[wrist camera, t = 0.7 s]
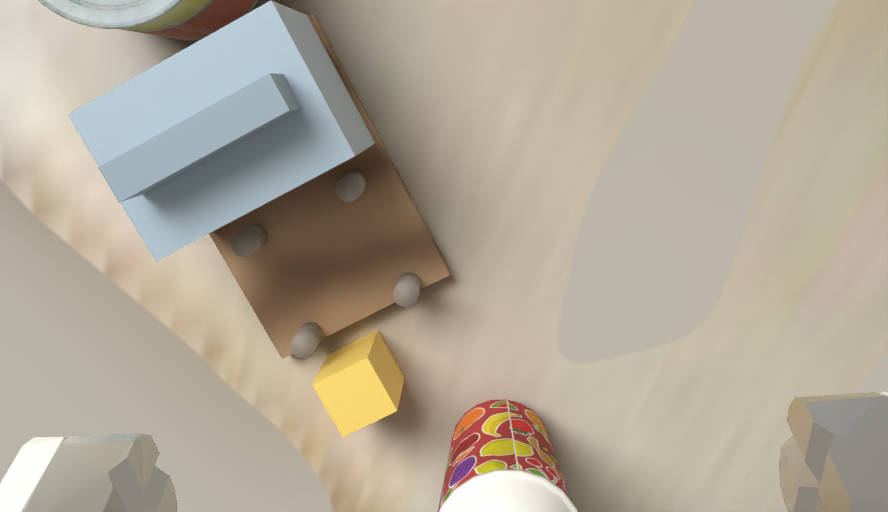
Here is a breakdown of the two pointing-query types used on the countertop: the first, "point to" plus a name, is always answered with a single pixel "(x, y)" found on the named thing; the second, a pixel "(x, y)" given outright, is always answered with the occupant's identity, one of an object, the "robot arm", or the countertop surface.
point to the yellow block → (359, 383)
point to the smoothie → (503, 463)
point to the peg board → (332, 246)
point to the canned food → (154, 15)
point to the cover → (222, 127)
